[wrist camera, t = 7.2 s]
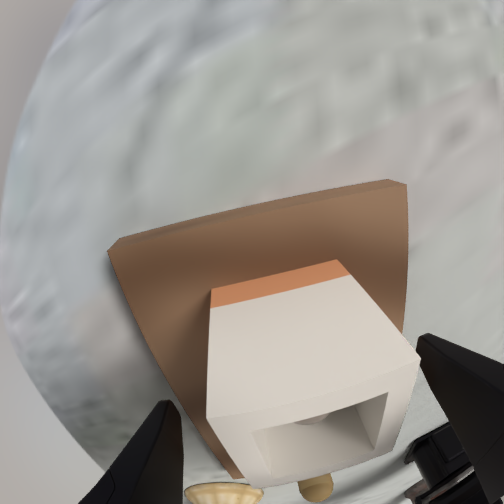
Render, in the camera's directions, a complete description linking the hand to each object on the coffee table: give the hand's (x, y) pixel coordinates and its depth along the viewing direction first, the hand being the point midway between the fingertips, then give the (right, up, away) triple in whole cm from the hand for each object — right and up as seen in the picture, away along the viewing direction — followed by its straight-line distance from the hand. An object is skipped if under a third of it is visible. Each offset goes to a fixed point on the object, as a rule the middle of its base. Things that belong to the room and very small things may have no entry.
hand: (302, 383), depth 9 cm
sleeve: (0, +1, +3) cm, 3 cm away
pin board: (+1, -3, +6) cm, 7 cm away
